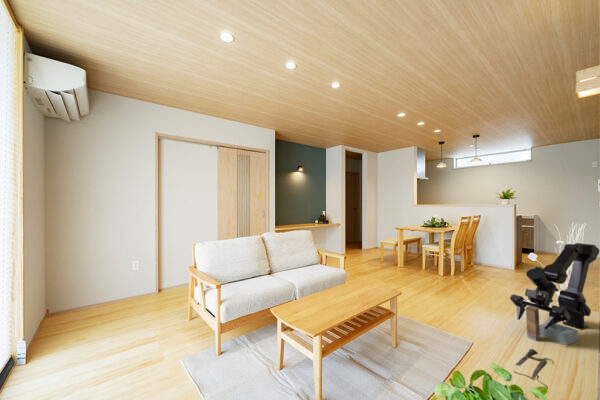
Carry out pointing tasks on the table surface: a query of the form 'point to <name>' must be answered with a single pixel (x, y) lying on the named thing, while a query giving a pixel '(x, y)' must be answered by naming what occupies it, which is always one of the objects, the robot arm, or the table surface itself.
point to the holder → (559, 333)
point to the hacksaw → (538, 368)
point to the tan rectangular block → (533, 323)
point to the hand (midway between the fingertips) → (531, 323)
